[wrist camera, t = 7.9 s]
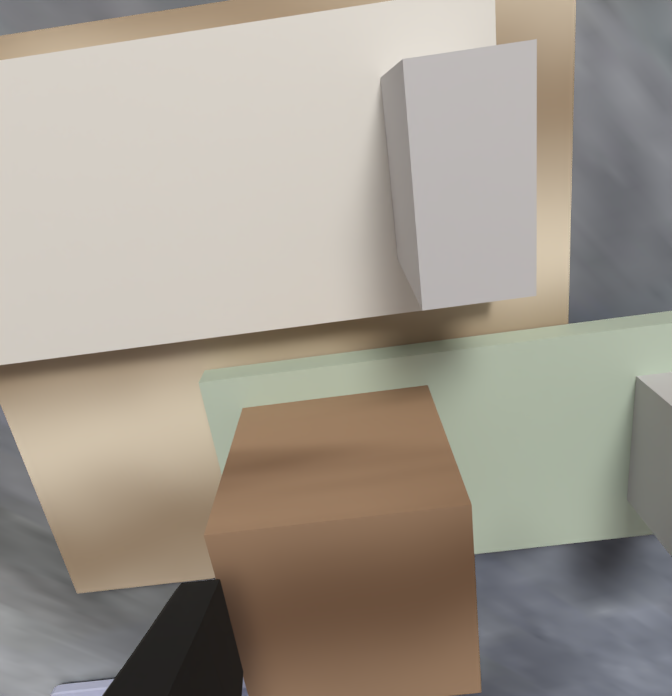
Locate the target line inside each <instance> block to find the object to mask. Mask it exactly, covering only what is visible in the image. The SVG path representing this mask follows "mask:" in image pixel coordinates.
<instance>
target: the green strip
mask: <svg viewBox="0 0 672 696" xmlns="http://www.w3.org/2000/svg"><path fill="white" fill-rule="evenodd" d="M424 385H428V387H429V390H430V393H431V395H432V398H433V401H434V403H435V406H436V409H437V412H438V414H439V417H440V420H441V423H442V425H443V428H444V431H445V433H446V436H447V439H448V442H449V444H450V447H451V450H452V452H453V455H454V458H455V461H456V463H457V466H458V469H459V471H460V474H461V477H462V480H463V482H464V485H465V488H466V490H467V493H468V496H469V499H470V501H471V504H472V520H473V539H474V554H480V553H489V552H498V551H507V550H516V549H525V548H534V547H543V546H552V545H561V544H570V543H579V542H588V541H597V540H606V539H615V538H624V537H633V536H642V535H651V534H654V535H655V536H656V537H657V539H658V540H659V541H660V542H661V544H662V545H663V546H664V548H665V549H666V550H667V551H668V553H669V554H670V555H671V557H672V311H667V312H659V313H651V314H643V315H635V316H627V317H619V318H611V319H604V320H596V321H588V322H580V323H572V324H564V325H556V326H549V327H541V328H533V329H525V330H517V331H509V332H501V333H494V334H486V335H478V336H470V337H462V338H454V339H446V340H439V341H431V342H423V343H415V344H407V345H399V346H391V347H384V348H376V349H368V350H360V351H352V352H344V353H336V354H329V355H321V356H313V357H305V358H297V359H289V360H281V361H273V362H266V363H258V364H250V365H242V366H234V367H226V368H218V369H211V370H205V371H204V373H203V375H202V377H201V379H200V381H199V387H200V391H201V395H202V399H203V402H204V406H205V410H206V414H207V418H208V422H209V426H210V430H211V434H212V438H213V442H214V446H215V450H216V454H217V458H218V462H219V466H220V470H221V474H223V470H224V467H225V464H226V460H227V457H228V454H229V451H230V447H231V444H232V441H233V437H234V434H235V431H236V428H237V424H238V421H239V418H240V415H241V411H242V408H247V407H255V406H263V405H271V404H279V403H287V402H295V401H303V400H311V399H319V398H327V397H336V396H344V395H352V394H360V393H368V392H376V391H384V390H392V389H400V388H408V387H416V386H424Z"/></svg>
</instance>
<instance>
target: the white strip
mask: <svg viewBox="0 0 672 696" xmlns="http://www.w3.org/2000/svg"><path fill="white" fill-rule="evenodd" d="M536 272H537V39H534V40H527V41H521V42H514V43H507V44H500V45H496V16H495V0H392V1H385V2H379V3H372V4H366V5H359V6H352V7H346V8H339V9H333V10H326V11H320V12H313V13H307V14H300V15H294V16H287V17H280V18H274V19H267V20H261V21H254V22H248V23H241V24H235V25H228V26H222V27H215V28H208V29H202V30H195V31H189V32H182V33H176V34H169V35H163V36H156V37H150V38H143V39H136V40H130V41H123V42H117V43H110V44H104V45H97V46H91V47H84V48H78V49H71V50H64V51H58V52H51V53H45V54H38V55H32V56H25V57H19V58H12V59H6V60H0V365H5V364H13V363H21V362H28V361H36V360H44V359H52V358H59V357H67V356H75V355H82V354H90V353H98V352H106V351H113V350H121V349H129V348H137V347H144V346H152V345H160V344H167V343H175V342H183V341H191V340H198V339H206V338H214V337H221V336H229V335H237V334H245V333H252V332H260V331H268V330H275V329H283V328H291V327H299V326H306V325H314V324H322V323H329V322H337V321H345V320H353V319H360V318H368V317H376V316H383V315H391V314H399V313H407V312H414V311H423V310H431V309H439V308H447V307H454V306H462V305H470V304H477V303H485V302H493V301H501V300H508V299H516V298H524V297H531V296H536Z"/></svg>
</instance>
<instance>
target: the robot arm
mask: <svg viewBox="0 0 672 696" xmlns="http://www.w3.org/2000/svg"><path fill="white" fill-rule="evenodd" d="M50 696H248V693H247V689H246V685H245V682H244V678H243V668H242V664H241V660H240V656H239V652H238V649H237V645H236V641H235V637H234V633H233V629H232V625H231V621H230V617H229V613H228V609H227V605H226V601H225V597H224V593H223V589H222V585H221V581H220V579H217V580H207V581H197V582H187V583H181V585H180V586H179V587H178V588H177V589H176V591H175V592H174V593H173V595H172V596H171V598H170V599H169V601H168V602H167V604H166V605H165V607H164V608H163V610H162V611H161V613H160V614H159V615H158V617H157V618H156V620H155V621H154V623H153V624H152V626H151V627H150V629H149V630H148V632H147V633H146V635H145V636H144V637H143V639H142V640H141V642H140V643H139V645H138V646H137V648H136V649H135V650H134V652H133V653H132V655H131V656H130V658H129V659H128V660H127V662H126V663H125V665H124V666H123V668H122V669H121V670H120V672H119V673H118V674H117V676H116V677H115V679H107V680H98V681H88V682H79V683H69V684H61V685H58V686H56V687H55V688H54V689H53V691H52V693H51V695H50Z"/></svg>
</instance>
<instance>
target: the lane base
mask: <svg viewBox="0 0 672 696" xmlns="http://www.w3.org/2000/svg"><path fill="white" fill-rule="evenodd" d="M385 1H392V0H229V1H223V2H216V3H210V4H203V5H197V6H190V7H184V8H177V9H171V10H164V11H158V12H152V13H145V14H139V15H132V16H126V17H119V18H113V19H106V20H100V21H93V22H87V23H80V24H74V25H67V26H61V27H54V28H48V29H42V30H35V31H29V32H22V33H16V34H9V35H3V36H0V60H6V59H12V58H19V57H25V56H32V55H38V54H45V53H51V52H58V51H64V50H71V49H78V48H84V47H91V46H97V45H104V44H110V43H117V42H123V41H130V40H136V39H143V38H150V37H156V36H163V35H169V34H176V33H182V32H189V31H195V30H202V29H208V28H215V27H222V26H228V25H235V24H241V23H248V22H254V21H261V20H267V19H274V18H280V17H287V16H294V15H300V14H307V13H313V12H320V11H326V10H333V9H339V8H346V7H352V6H359V5H366V4H372V3H379V2H385ZM495 16H496V45H500V44H507V43H514V42H521V41H527V40H534V39H537V272H536V296H531V297H524V298H516V299H508V300H501V301H493V302H485V303H477V304H470V305H462V306H454V307H447V308H439V309H431V310H423V311H414V312H407V313H399V314H391V315H383V316H376V317H368V318H360V319H353V320H345V321H337V322H329V323H322V324H314V325H306V326H299V327H291V328H283V329H275V330H268V331H260V332H252V333H245V334H237V335H229V336H221V337H214V338H206V339H198V340H191V341H183V342H175V343H167V344H160V345H152V346H144V347H137V348H129V349H121V350H113V351H106V352H98V353H90V354H82V355H75V356H67V357H59V358H52V359H44V360H36V361H28V362H21V363H13V364H5V365H0V404H1V407H2V409H3V411H4V414H5V416H6V419H7V421H8V424H9V426H10V429H11V431H12V434H13V436H14V439H15V441H16V444H17V446H18V449H19V451H20V453H21V456H22V458H23V461H24V463H25V466H26V468H27V471H28V473H29V476H30V478H31V481H32V483H33V486H34V488H35V490H36V493H37V495H38V498H39V500H40V503H41V505H42V508H43V510H44V513H45V515H46V518H47V520H48V523H49V525H50V528H51V530H52V532H53V535H54V537H55V540H56V542H57V545H58V547H59V550H60V552H61V555H62V557H63V560H64V562H65V565H66V567H67V569H68V572H69V574H70V577H71V579H72V582H73V584H74V587H75V589H76V592H77V593H86V592H95V591H104V590H113V589H122V588H131V587H140V586H149V585H158V584H167V583H175V582H184V581H193V580H202V579H211V578H215V574H214V571H213V567H212V564H211V560H210V556H209V553H208V549H207V546H206V542H205V538H204V533H205V529H206V526H207V523H208V519H209V516H210V513H211V510H212V506H213V503H214V500H215V497H216V493H217V490H218V487H219V483H220V480H221V477H222V474H221V470H220V466H219V462H218V458H217V454H216V450H215V446H214V442H213V438H212V434H211V430H210V426H209V422H208V418H207V414H206V410H205V406H204V402H203V399H202V395H201V391H200V387H199V381H200V379H201V377H202V375H203V373H204V371H205V370H211V369H218V368H226V367H234V366H242V365H250V364H258V363H266V362H273V361H281V360H289V359H297V358H305V357H313V356H321V355H329V354H336V353H344V352H352V351H360V350H368V349H376V348H384V347H391V346H399V345H407V344H415V343H423V342H431V341H439V340H446V339H454V338H462V337H470V336H478V335H486V334H494V333H501V332H509V331H517V330H525V329H533V328H541V327H549V326H556V325H564V324H568V312H569V270H570V228H571V186H572V144H573V102H574V60H575V18H576V0H495Z"/></svg>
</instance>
